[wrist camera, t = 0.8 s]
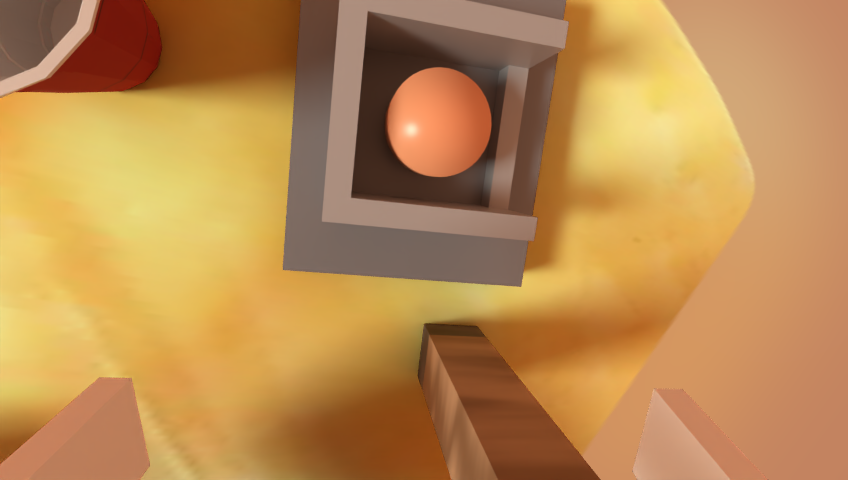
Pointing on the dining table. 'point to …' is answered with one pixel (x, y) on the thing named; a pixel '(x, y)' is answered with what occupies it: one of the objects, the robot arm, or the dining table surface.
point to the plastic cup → (76, 45)
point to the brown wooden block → (489, 413)
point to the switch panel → (376, 165)
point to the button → (438, 122)
